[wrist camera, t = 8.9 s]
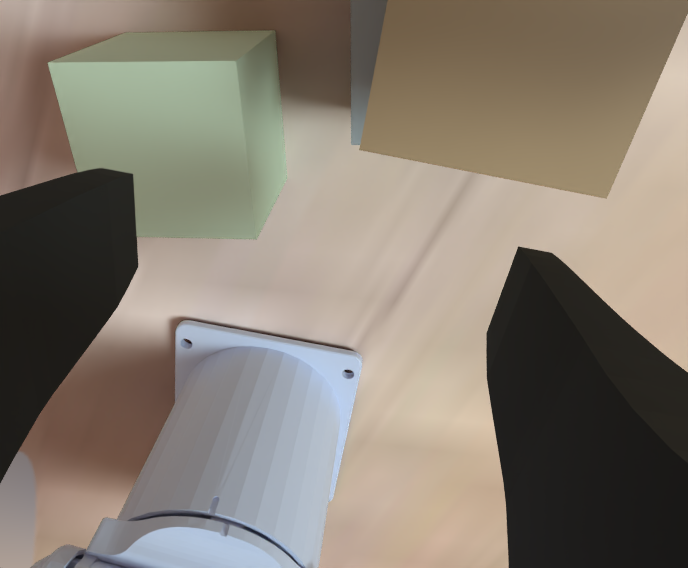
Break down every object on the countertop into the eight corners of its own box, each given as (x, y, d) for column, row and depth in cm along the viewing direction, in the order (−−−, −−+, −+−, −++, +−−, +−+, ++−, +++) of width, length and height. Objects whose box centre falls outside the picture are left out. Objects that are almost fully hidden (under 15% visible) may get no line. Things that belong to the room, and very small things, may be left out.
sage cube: (287, 177, 22) (256, 239, 18) (155, 175, 22) (94, 235, 18) (275, 30, 19) (236, 60, 15) (126, 32, 20) (47, 62, 15)
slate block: (573, 110, 20) (606, 150, 16) (362, 107, 20) (351, 145, 17) (622, -150, 16) (677, -170, 13) (363, -144, 17) (349, -162, 13)
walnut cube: (554, 125, 16) (606, 198, 12) (373, 89, 16) (359, 149, 12) (633, -91, 13) (735, -97, 9) (415, -134, 13) (418, -161, 9)
